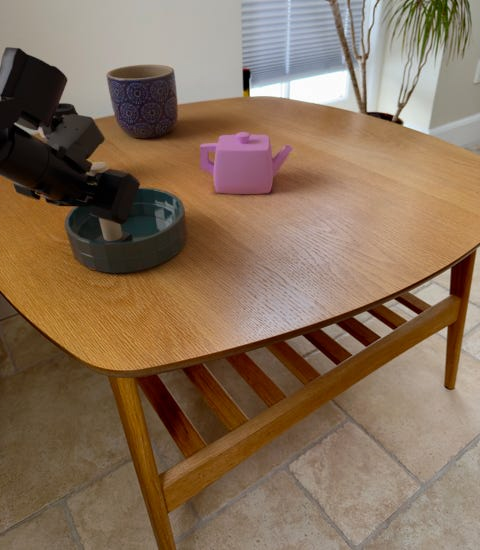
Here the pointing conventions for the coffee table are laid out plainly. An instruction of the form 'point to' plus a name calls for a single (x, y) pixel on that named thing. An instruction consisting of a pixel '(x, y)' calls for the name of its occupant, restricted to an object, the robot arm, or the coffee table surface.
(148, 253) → the basin
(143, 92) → the planter
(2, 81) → the robot arm
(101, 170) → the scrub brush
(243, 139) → the teapot
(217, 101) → the coffee table surface
